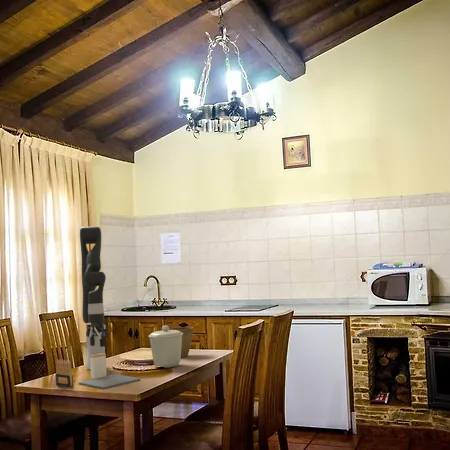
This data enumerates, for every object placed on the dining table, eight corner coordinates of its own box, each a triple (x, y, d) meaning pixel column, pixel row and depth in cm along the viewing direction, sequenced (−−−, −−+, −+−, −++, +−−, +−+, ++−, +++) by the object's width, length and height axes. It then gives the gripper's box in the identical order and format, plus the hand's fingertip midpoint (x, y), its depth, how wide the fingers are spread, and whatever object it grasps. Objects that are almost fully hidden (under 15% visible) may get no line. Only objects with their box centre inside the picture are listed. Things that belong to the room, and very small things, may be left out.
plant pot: (196, 357, 308) (195, 328, 309) (170, 359, 305) (168, 330, 306) (192, 353, 323) (190, 325, 324) (166, 355, 319) (165, 328, 320)
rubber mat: (78, 384, 253) (78, 382, 253) (115, 375, 268) (115, 374, 268) (103, 389, 240) (103, 387, 240) (140, 380, 254) (140, 378, 254)
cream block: (90, 378, 265) (89, 355, 266) (103, 375, 270) (102, 353, 271) (94, 378, 263) (93, 355, 264) (106, 376, 268) (105, 353, 269)
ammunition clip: (73, 386, 249) (72, 359, 250) (69, 387, 248) (68, 360, 249) (59, 384, 256) (58, 358, 257) (55, 385, 254) (54, 358, 255)
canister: (179, 369, 275) (176, 327, 276) (144, 370, 278) (142, 328, 280) (188, 362, 292) (186, 322, 294) (156, 363, 296) (154, 323, 297)
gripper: (81, 313, 271) (82, 346, 270) (97, 313, 262) (99, 348, 260) (94, 311, 277) (96, 344, 275) (110, 312, 267) (112, 345, 266)
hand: (97, 346), depth 268 cm, fingers open, 8 cm apart
